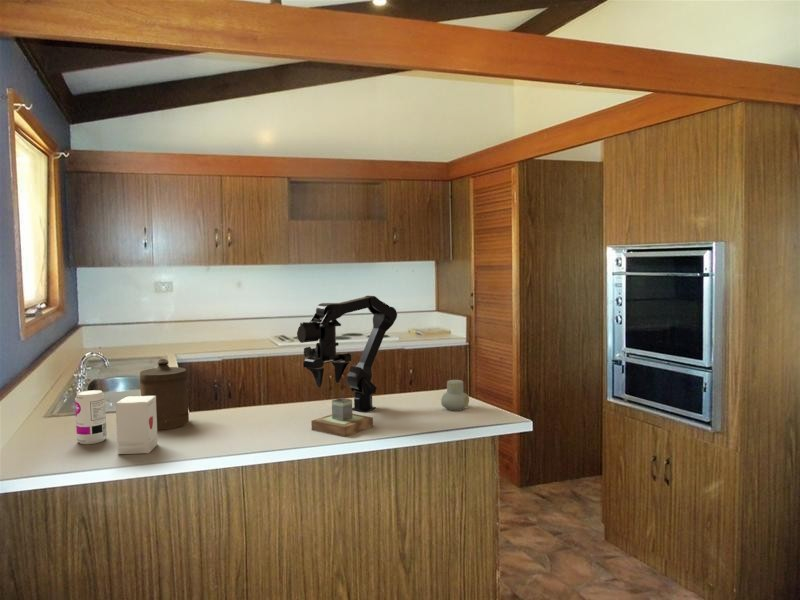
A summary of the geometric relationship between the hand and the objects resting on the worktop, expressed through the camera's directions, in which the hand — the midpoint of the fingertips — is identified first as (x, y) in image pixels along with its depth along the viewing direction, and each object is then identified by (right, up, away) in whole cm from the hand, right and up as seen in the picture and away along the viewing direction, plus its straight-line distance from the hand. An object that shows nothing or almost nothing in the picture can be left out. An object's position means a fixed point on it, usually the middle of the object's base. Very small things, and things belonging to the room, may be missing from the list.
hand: (328, 384), depth 220 cm
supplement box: (-51, -15, -34) cm, 64 cm away
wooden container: (-54, -13, -7) cm, 56 cm away
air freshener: (+45, -10, +9) cm, 47 cm away
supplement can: (-69, -14, -25) cm, 75 cm away
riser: (+6, -12, -15) cm, 20 cm away
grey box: (+6, -9, -15) cm, 18 cm away
